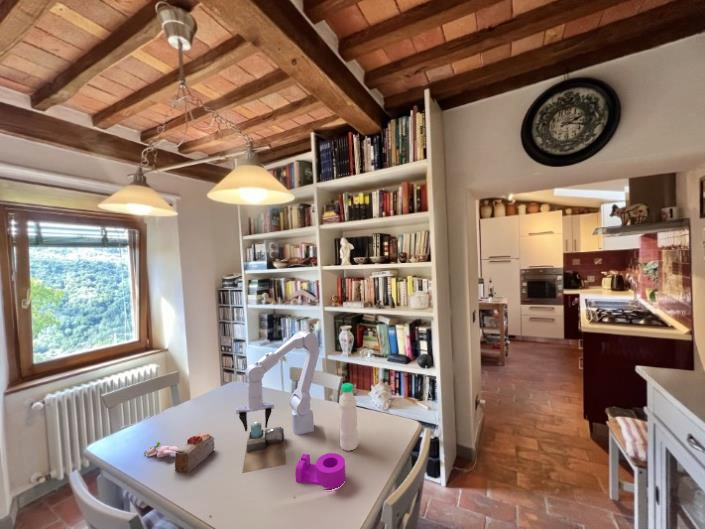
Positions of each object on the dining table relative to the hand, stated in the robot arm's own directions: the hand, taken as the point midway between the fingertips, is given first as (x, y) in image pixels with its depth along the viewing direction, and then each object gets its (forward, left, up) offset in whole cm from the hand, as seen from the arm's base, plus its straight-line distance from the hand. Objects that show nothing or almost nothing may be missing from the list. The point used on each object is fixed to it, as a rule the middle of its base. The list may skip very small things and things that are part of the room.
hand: (256, 428), depth 119 cm
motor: (-3, 0, -7) cm, 8 cm away
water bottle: (-36, +10, -8) cm, 38 cm away
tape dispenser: (-23, +25, -9) cm, 35 cm away
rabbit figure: (+36, -6, -9) cm, 38 cm away
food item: (+22, +2, -9) cm, 24 cm away
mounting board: (-3, +5, -8) cm, 10 cm away
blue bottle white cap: (0, 0, -4) cm, 4 cm away
